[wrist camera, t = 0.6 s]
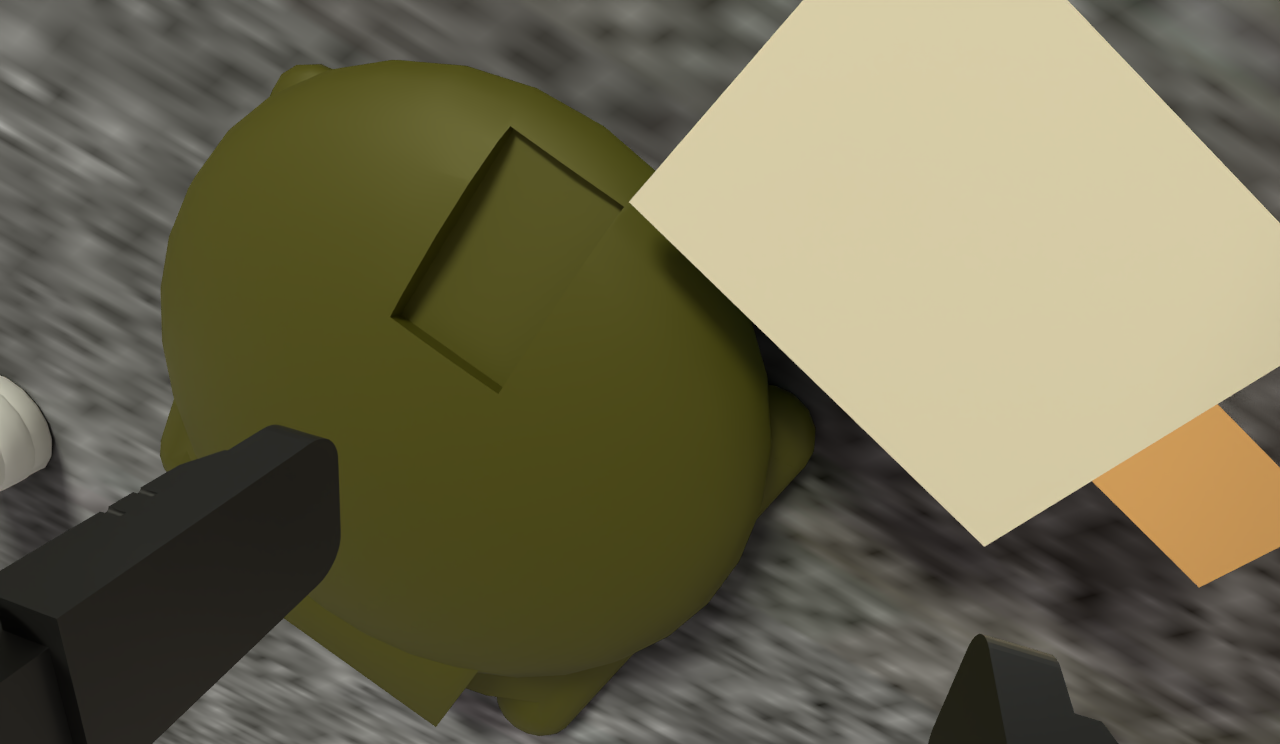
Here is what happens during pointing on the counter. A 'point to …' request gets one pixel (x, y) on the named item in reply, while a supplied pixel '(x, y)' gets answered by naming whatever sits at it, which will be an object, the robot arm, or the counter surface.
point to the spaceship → (473, 379)
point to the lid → (996, 263)
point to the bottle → (21, 435)
